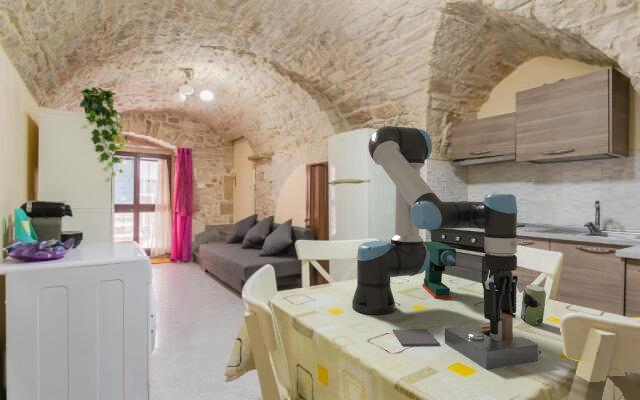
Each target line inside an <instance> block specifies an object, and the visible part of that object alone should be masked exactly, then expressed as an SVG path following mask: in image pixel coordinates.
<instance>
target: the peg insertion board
mask: <svg viewBox="0 0 640 400" xmlns="http://www.w3.org/2000/svg"><path fill="white" fill-rule="evenodd" d="M444 344H446V345H447V346H448V347H451V348H452V349H453V350H455V351H456V352H458V353H460V354H461V355H463V356H465V357H466V358H468V359H469V360H471V361H472V362H474V363H475V364H477V365H478V366H480V367H482V368H483V369H485V370H491V369H497V368H504V367H509V366H513V365H514V366H515V365H521V364H526V363H532V362H533V363H534V362H538V360H539V359H538V356H539V355H538V354H539V349H538V348H539V343H538V342H537V343H536V342H534V341H532V340H531V339H528V338H525V337H524V336H520V337H513V338H511V339H504V340H497V341H496V340H494V339H492V338H490V322H485V323H476V324H468V325H461V326H460V325H459V326H453V327H450V326H449V327H445V328H444Z"/></svg>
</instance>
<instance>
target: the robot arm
mask: <svg viewBox="0 0 640 400" xmlns="http://www.w3.org/2000/svg"><path fill="white" fill-rule="evenodd" d="M432 150H433V143H432V139H431V136H430V134H428V132H427V131H426V130H424V129H420V128H416V127H406V126H405V127H404V126H394V125H393V126H392V125H386V126H382V127H379V128H378V129H376V130H375V131H374V132H373V134H372V135H371V136H370V138H369V142H368V152H369V156H370V157H371V159H372V160H373V161H374V162H375V164H376V165H378V166H381V167H382V169H383V170H384V172H385V173H386V174H387V176H388V177H389V178H390V180H391V181H392V182H393V184H394V185H395V210H394V211H395V215H394V219H395V220H394V221H395V222H394V234H393V236H392V237H391V238H390V241H388V240H371V241H366V242H363V243H361V244H360V245H359V246H358V248H357V255H356V261H357V262H356V263H357V267H356V269H357V272H356V273H357V274H356V279H357V281H356V283H357V284H356V289H355V291H354V294H353V297H352V299H351V303H352V304H351V308H352V309H353V310H354V311H356V312H358V313H362V314H367V315H386V314H391V313H393V312H395V311H396V301H395V298H394V294H393V292H392V288H391V278H395V277H407V276H409V277H413V276H417V275H421V274H423V273H425V270H426V269H427V267H428V265H429V261H430V253H429V251H428V248H427V246H426V245H425V244H423V242H424V239H423V237H421V236H420V230H427V231H428V230H429V231H430V230H431V231H433V230H447V229H451V230H452V229H478V230H483V233H484V246H483V247H484V248H483V249H484V252H485V254H484V255H483V256H484V257H483V258H484V260H483V261H484V268H486V269H488V271H489V273H488V279H487V280H482V282H481V284H482V289H483V311H484V312H483V316H484V319H485V320H489V323H490V338H492V339H494V340H496V341H497V340H502V322H501V321H500V313H504V314H508V315H511V316H512V317H513V319H515V318H516V316H517V315H516V313H517V292H518V291H517V285H518V280H519V278H518V275H514V274H513V271H516V270H517V269H518V256H517V255H516V254H517V252H518V251H517V250H518V246H519V242H518V239H517V238H518V235H517V225H518V224H517V223H518V207H517V206H518V205H517V198H516V196H515V195H514V194H511V193H508V194H507V193H506V194H505V193H502V194H501V193H499V194H498V193H497V194H495V193H492V194H489V193H488V194H486V195H484V198H483V201H468V200H467V201H466V200H465V201H463V200H461V201H443V200H441V199H440V198H439V196H437V194H436V193H435V192H434V191H433V189H432V188H431V187H430V186H429V185H428V183H427V182H426V181H425V180H424V179H423V177H422V176H421V169H422V168H423V167H424V166H425V162H426V161H427V160H428V159H429V157H430V155H431V154H432V152H433V151H432Z"/></svg>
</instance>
